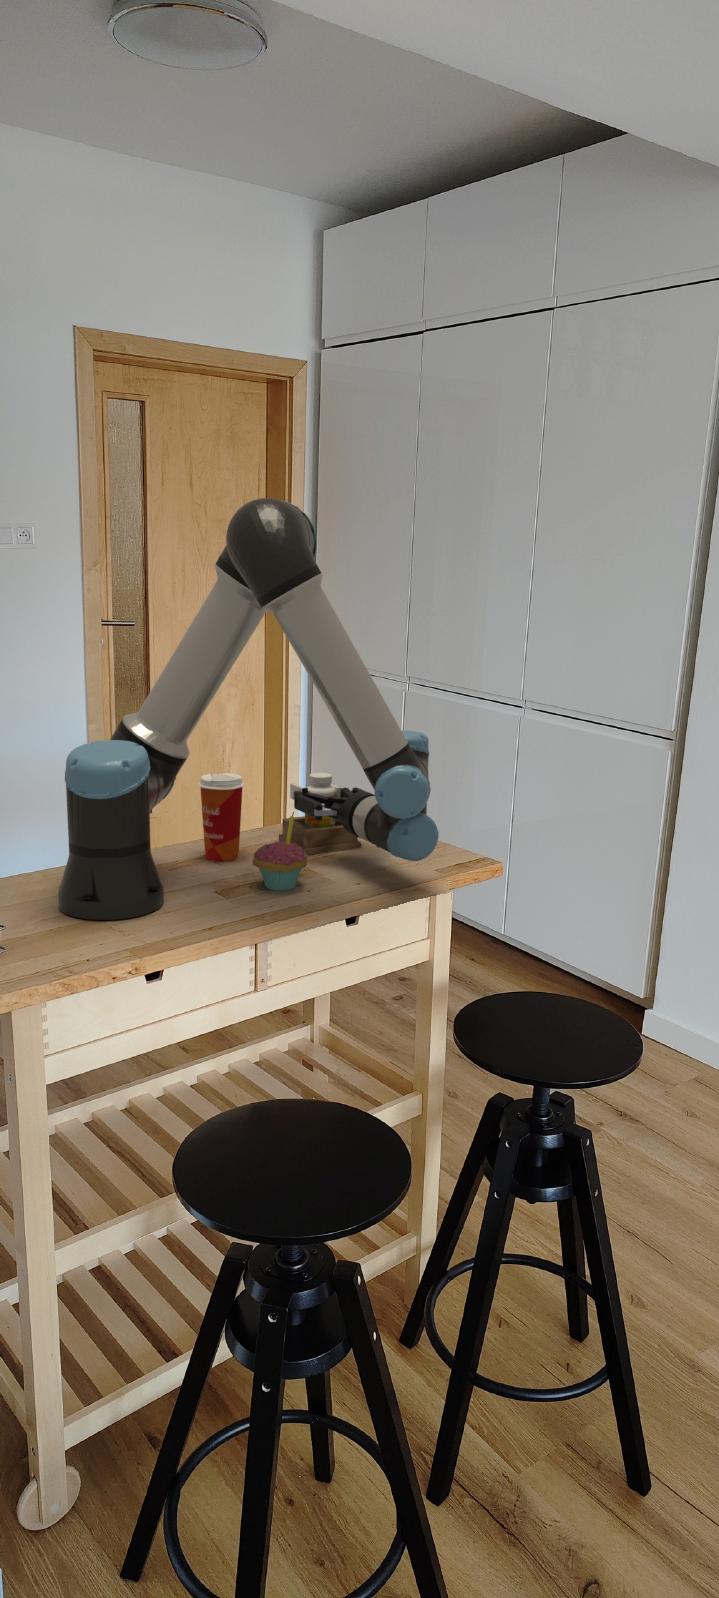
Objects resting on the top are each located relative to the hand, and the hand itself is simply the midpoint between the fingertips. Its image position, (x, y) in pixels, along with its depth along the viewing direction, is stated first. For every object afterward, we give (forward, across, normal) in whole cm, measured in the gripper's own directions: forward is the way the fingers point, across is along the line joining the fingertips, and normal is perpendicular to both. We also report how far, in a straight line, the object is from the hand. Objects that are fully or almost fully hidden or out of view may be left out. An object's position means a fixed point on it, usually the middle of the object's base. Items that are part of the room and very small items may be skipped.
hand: (307, 789), depth 196 cm
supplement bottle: (-5, 0, -6) cm, 8 cm away
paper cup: (-6, -19, -9) cm, 22 cm away
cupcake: (-25, -17, -9) cm, 31 cm away
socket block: (-5, 0, -9) cm, 10 cm away
